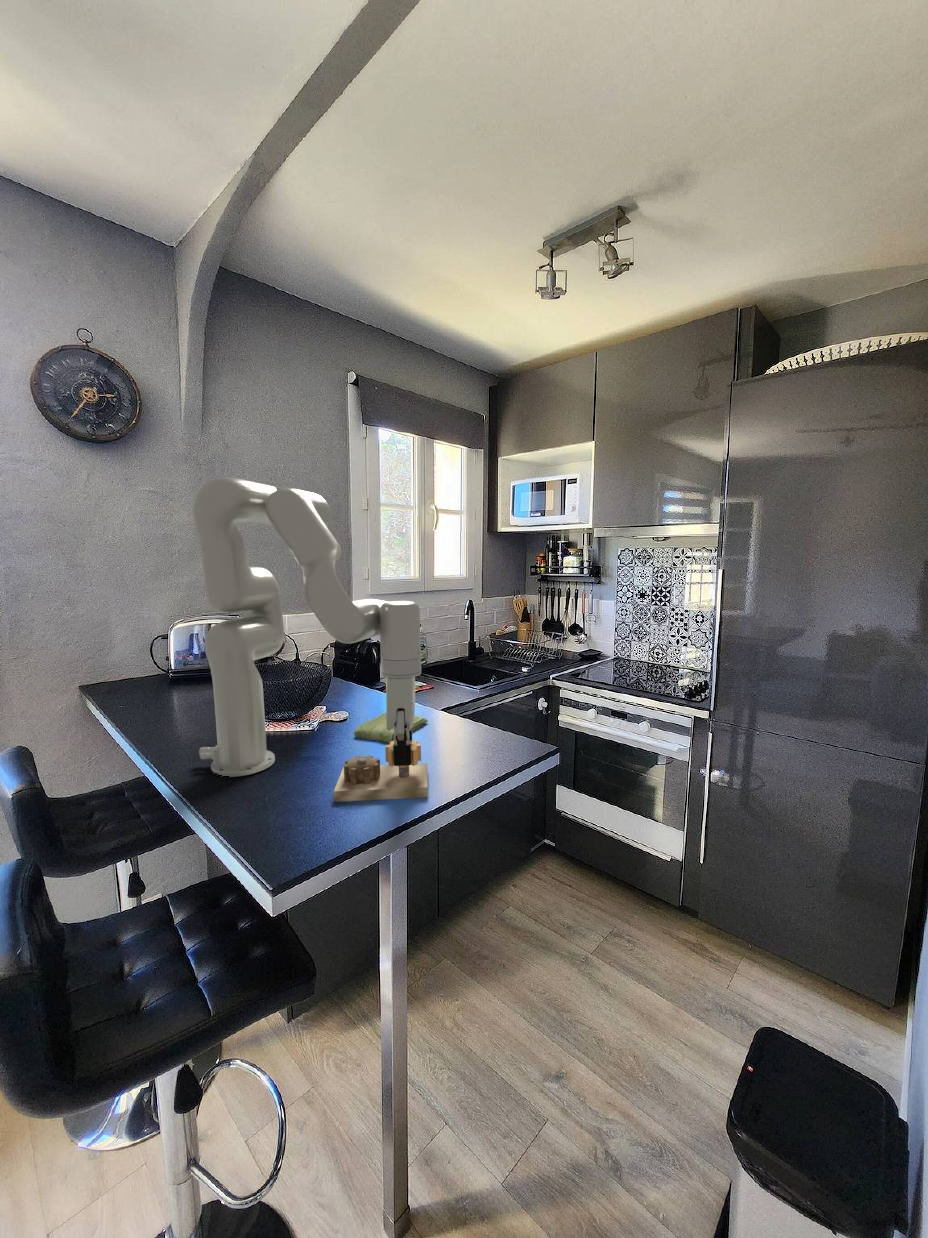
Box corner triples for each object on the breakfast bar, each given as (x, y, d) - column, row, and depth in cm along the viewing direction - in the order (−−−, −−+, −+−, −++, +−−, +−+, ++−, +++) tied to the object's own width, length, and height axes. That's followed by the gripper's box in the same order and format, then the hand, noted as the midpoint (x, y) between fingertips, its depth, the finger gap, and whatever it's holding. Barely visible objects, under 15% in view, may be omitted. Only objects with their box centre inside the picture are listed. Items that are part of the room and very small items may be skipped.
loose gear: (384, 768, 94) (383, 753, 93) (387, 754, 100) (386, 739, 100) (420, 767, 94) (420, 751, 94) (421, 753, 101) (421, 738, 100)
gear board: (334, 801, 92) (332, 773, 91) (344, 776, 102) (342, 750, 102) (427, 797, 93) (427, 769, 92) (427, 772, 104) (427, 746, 103)
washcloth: (430, 724, 135) (429, 712, 135) (394, 747, 119) (394, 734, 119) (388, 718, 140) (388, 707, 140) (349, 739, 125) (349, 726, 124)
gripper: (384, 658, 103) (387, 742, 105) (376, 677, 86) (379, 777, 88) (421, 657, 104) (423, 740, 106) (420, 676, 87) (422, 776, 89)
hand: (403, 756), depth 97 cm, fingers closed on loose gear, 6 cm apart
